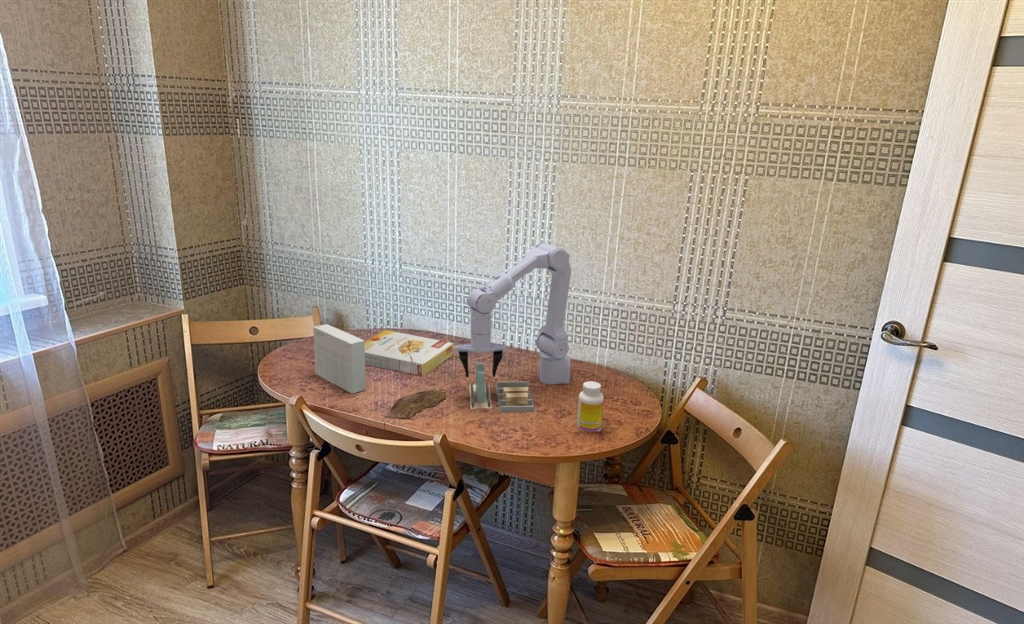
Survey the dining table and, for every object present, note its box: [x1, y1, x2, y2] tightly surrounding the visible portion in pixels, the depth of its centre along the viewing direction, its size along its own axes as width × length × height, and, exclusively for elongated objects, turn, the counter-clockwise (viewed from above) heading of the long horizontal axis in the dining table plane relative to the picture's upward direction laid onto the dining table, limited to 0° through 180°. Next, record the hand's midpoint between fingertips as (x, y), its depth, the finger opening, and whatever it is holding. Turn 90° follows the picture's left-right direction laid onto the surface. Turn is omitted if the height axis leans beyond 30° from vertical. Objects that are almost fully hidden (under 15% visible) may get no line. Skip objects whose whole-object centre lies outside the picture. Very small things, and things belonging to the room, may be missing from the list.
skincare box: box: [312, 323, 367, 395], centre depth 189 cm, size 21×5×16 cm, turn 47°
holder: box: [468, 380, 493, 410], centre depth 182 cm, size 6×16×2 cm, turn 5°
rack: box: [495, 380, 536, 413], centre depth 182 cm, size 10×19×2 cm, turn 5°
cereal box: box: [364, 329, 454, 377], centre depth 210 cm, size 20×6×28 cm
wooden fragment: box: [384, 388, 447, 420], centre depth 180 cm, size 26×11×1 cm, turn 142°
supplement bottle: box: [576, 380, 605, 433], centre depth 165 cm, size 7×7×13 cm
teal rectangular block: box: [475, 362, 485, 402], centre depth 181 cm, size 8×2×9 cm, turn 5°
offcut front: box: [506, 393, 528, 406], centre depth 175 cm, size 6×2×4 cm, turn 95°
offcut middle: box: [503, 387, 528, 400], centre depth 178 cm, size 7×2×4 cm, turn 95°
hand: (480, 375), depth 180 cm, fingers open, 7 cm apart
